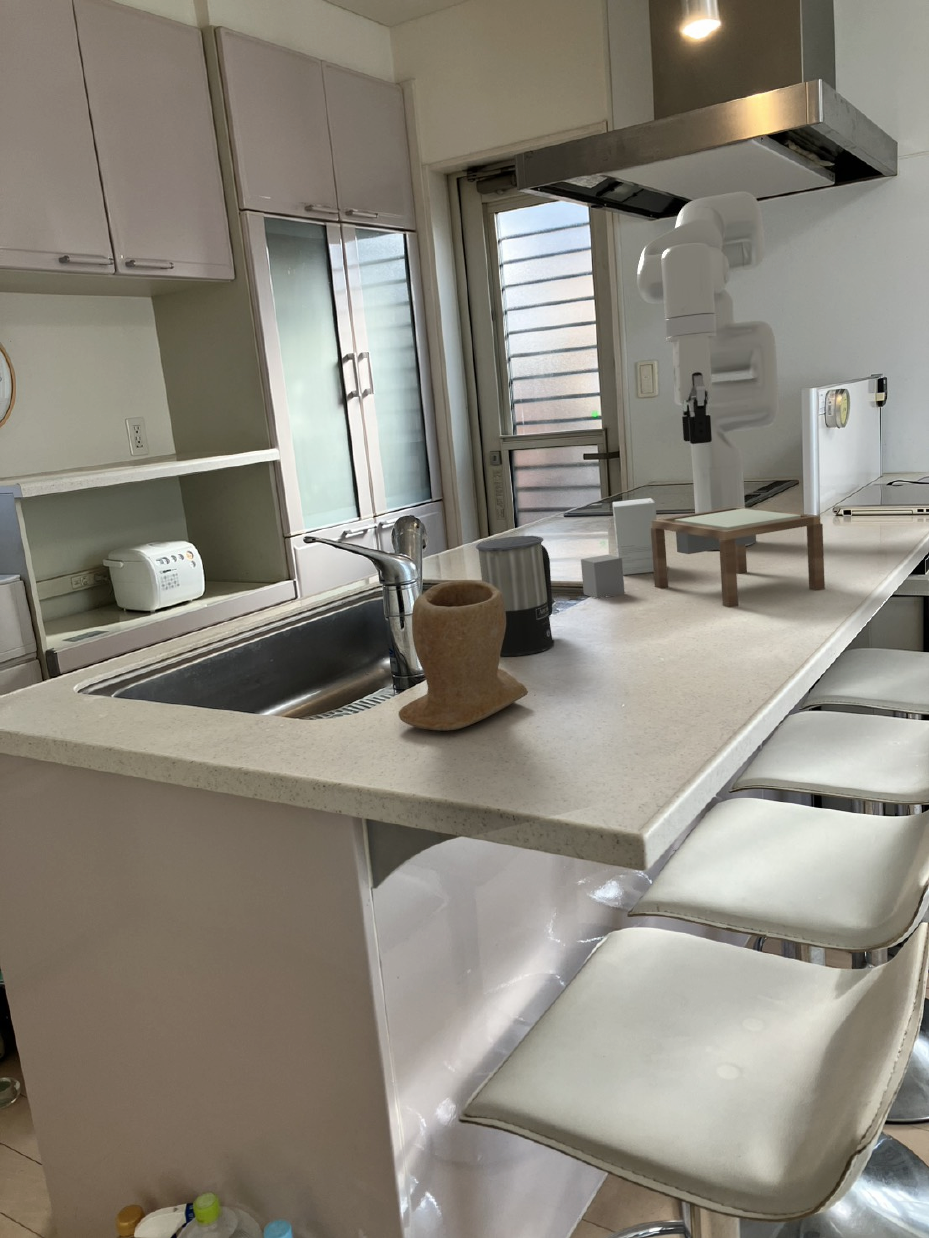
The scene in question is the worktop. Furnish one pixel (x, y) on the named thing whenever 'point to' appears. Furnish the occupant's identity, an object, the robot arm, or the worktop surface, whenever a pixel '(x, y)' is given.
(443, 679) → the stone cup
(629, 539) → the supplement box
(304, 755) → the worktop surface
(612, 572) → the grey near-cubic block
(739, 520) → the trapdoor
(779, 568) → the worktop surface
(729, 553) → the frame
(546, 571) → the milk frother
